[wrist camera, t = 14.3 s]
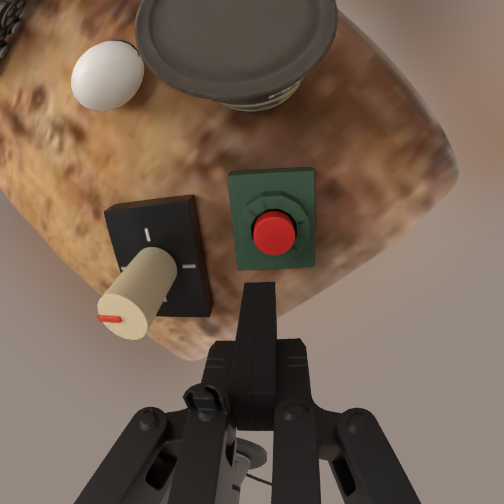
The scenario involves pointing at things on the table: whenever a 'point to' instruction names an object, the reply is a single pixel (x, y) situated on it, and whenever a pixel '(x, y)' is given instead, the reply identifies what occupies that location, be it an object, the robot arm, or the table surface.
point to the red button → (274, 233)
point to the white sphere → (107, 75)
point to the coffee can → (235, 46)
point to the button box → (273, 199)
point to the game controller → (9, 21)
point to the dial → (138, 293)
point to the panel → (165, 248)
